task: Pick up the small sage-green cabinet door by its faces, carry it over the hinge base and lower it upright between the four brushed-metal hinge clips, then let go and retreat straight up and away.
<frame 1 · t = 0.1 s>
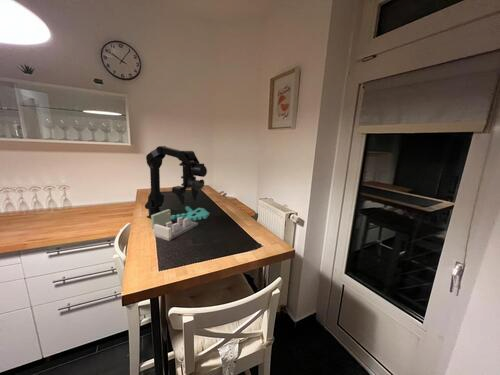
hand: (188, 202, 116), 15 cm above the table, fingers open, 9 cm apart
alien figure: (193, 216, 137), on the table
cabinet door: (161, 225, 119), on the table
hinge base: (177, 230, 114), on the table
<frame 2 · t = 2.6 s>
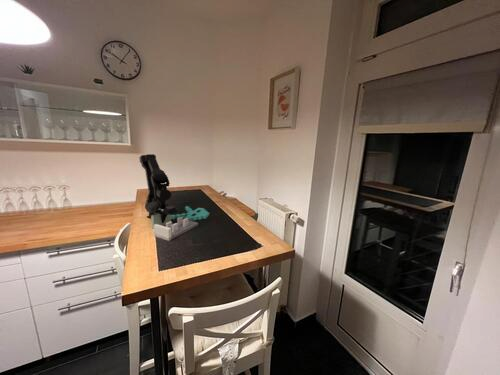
hand: (161, 222, 118), 2 cm above the table, fingers closed on cabinet door, 2 cm apart
cabinet door: (161, 225, 119), on the table, touching gripper
everything else where it was.
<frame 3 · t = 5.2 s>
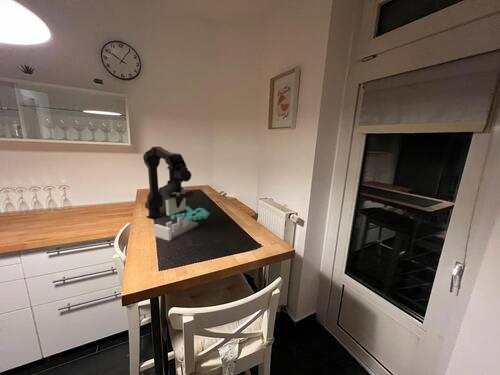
hand: (176, 207, 111), 13 cm above the table, fingers closed on cabinet door
cabinet door: (176, 211, 111), point 11 cm above the table, touching gripper
everything else where it was.
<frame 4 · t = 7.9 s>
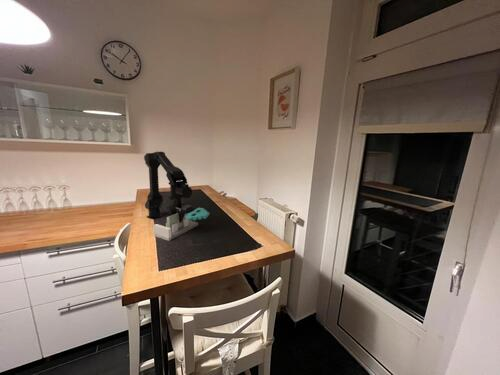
hand: (177, 221, 113), 5 cm above the table, fingers open, 4 cm apart
cabinet door: (177, 227, 113), point 1 cm above the table, touching hinge base
everything else where it was.
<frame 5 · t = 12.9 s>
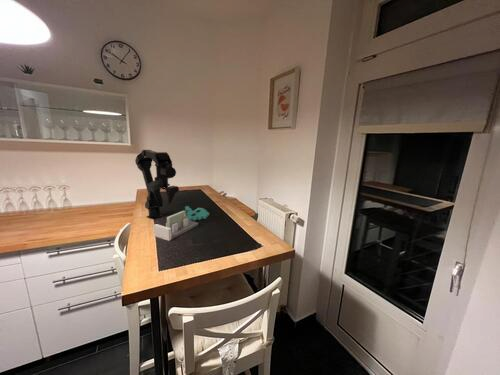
hand: (163, 202, 119), 13 cm above the table, fingers open, 9 cm apart
nothing on the table moved.
at the end: cabinet door 0.3 cm off-centre on the hinge base, point 1.5 cm above the hinge base's base; cabinet door tilted 0°; the gripper is holding nothing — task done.
